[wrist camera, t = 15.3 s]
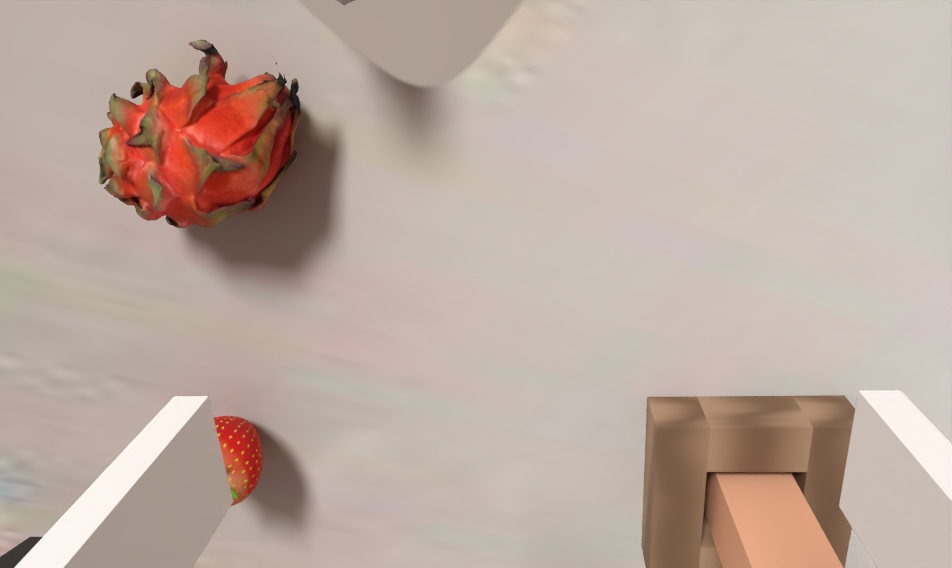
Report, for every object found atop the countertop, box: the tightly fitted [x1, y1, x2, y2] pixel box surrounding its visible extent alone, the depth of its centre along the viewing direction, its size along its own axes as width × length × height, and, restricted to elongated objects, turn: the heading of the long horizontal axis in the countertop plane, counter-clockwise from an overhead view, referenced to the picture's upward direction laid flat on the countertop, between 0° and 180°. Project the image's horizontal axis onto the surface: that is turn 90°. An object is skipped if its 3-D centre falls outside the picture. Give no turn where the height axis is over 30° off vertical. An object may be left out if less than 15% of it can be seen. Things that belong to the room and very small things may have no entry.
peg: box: [704, 472, 843, 568], centre depth 40 cm, size 4×4×12 cm
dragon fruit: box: [98, 40, 301, 228], centre depth 36 cm, size 8×8×12 cm
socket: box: [642, 396, 855, 568], centre depth 44 cm, size 12×12×4 cm
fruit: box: [214, 416, 262, 506], centre depth 43 cm, size 5×5×8 cm
